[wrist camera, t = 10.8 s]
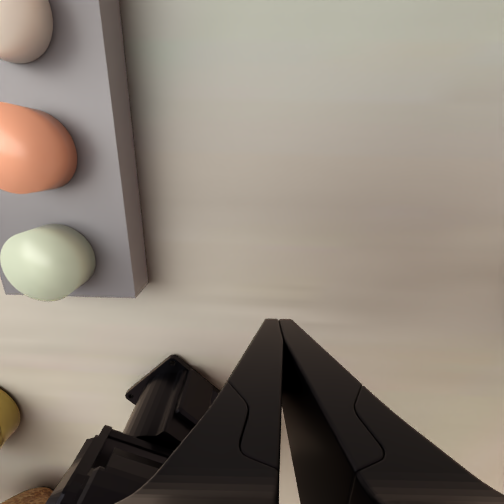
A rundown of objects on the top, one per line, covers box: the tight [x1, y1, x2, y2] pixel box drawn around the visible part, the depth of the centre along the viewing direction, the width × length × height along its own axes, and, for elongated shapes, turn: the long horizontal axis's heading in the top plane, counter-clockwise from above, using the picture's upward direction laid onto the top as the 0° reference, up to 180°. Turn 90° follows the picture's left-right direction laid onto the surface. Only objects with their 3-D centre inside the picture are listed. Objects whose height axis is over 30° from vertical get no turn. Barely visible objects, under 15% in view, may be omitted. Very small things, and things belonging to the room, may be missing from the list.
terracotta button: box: [0, 102, 77, 194], centre depth 15 cm, size 4×4×2 cm
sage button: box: [0, 224, 96, 301], centre depth 17 cm, size 4×4×2 cm
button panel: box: [0, 0, 148, 298], centre depth 17 cm, size 19×9×2 cm, turn 178°
